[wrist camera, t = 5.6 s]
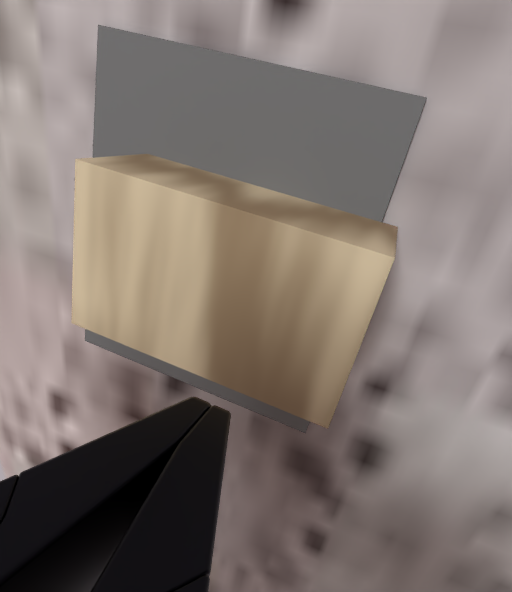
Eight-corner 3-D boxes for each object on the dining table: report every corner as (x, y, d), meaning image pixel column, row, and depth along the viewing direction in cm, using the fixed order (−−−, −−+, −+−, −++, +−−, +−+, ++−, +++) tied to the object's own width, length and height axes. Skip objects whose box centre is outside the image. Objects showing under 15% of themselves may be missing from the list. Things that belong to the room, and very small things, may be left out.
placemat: (426, 98, 13) (426, 97, 12) (306, 430, 19) (305, 433, 18) (101, 26, 15) (98, 24, 15) (87, 338, 21) (84, 340, 21)
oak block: (394, 257, 11) (75, 158, 13) (327, 428, 13) (71, 323, 15) (397, 226, 14) (147, 153, 16) (344, 366, 17) (134, 287, 19)
